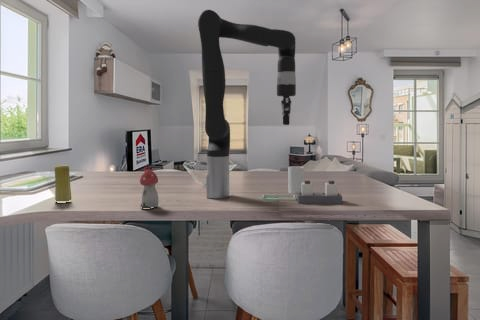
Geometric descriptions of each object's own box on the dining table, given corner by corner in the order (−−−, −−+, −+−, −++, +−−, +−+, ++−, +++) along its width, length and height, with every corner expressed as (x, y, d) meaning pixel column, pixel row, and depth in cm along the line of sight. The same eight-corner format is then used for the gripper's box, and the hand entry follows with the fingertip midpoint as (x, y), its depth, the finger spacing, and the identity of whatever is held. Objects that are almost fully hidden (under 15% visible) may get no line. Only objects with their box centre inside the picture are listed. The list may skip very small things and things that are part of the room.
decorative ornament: (143, 205, 150) (142, 165, 149) (160, 204, 151) (159, 165, 149) (138, 210, 141) (137, 168, 139) (156, 210, 141) (155, 168, 140)
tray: (262, 202, 153) (262, 198, 153) (262, 198, 162) (262, 194, 162) (295, 203, 152) (295, 199, 152) (294, 198, 161) (294, 194, 161)
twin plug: (326, 202, 147) (326, 181, 146) (324, 200, 151) (325, 180, 150) (337, 203, 147) (337, 181, 146) (335, 200, 151) (335, 180, 150)
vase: (59, 200, 159) (57, 165, 158) (74, 200, 159) (72, 165, 158) (52, 203, 153) (50, 167, 152) (68, 203, 153) (66, 167, 152)
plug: (302, 202, 147) (302, 181, 147) (301, 200, 151) (301, 180, 151) (312, 202, 147) (313, 181, 146) (311, 200, 151) (312, 180, 150)
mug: (303, 196, 166) (303, 168, 165) (287, 195, 167) (287, 167, 166) (304, 192, 176) (304, 165, 174) (289, 191, 177) (289, 165, 176)
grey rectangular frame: (298, 206, 146) (298, 195, 146) (296, 202, 153) (297, 192, 153) (342, 206, 145) (342, 196, 145) (338, 203, 152) (338, 192, 152)
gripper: (276, 85, 165) (276, 124, 166) (277, 82, 151) (277, 125, 152) (294, 85, 164) (294, 124, 166) (297, 82, 150) (296, 124, 152)
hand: (286, 124), depth 159 cm, fingers open, 8 cm apart
